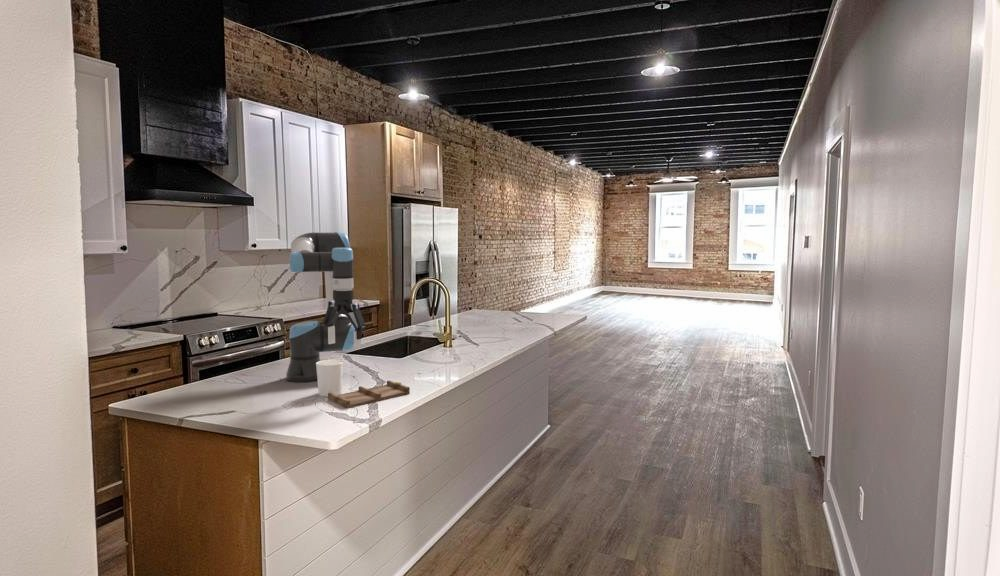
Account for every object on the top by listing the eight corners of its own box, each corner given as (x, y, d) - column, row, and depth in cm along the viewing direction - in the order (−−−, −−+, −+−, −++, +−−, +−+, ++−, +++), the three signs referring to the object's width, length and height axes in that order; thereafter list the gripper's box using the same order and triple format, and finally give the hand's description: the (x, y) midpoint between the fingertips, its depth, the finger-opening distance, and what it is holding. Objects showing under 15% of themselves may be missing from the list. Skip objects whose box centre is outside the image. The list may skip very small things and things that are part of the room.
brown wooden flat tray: (328, 399, 206) (327, 391, 206) (390, 386, 225) (390, 378, 224) (347, 408, 196) (347, 399, 196) (411, 393, 215) (411, 385, 214)
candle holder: (344, 395, 211) (343, 364, 210) (316, 398, 208) (315, 366, 207) (343, 389, 220) (342, 358, 219) (316, 391, 217) (315, 360, 216)
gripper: (312, 288, 213) (313, 343, 216) (360, 292, 201) (361, 351, 203) (327, 286, 220) (329, 340, 222) (375, 290, 207) (376, 347, 209)
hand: (344, 345), depth 213 cm, fingers open, 13 cm apart
